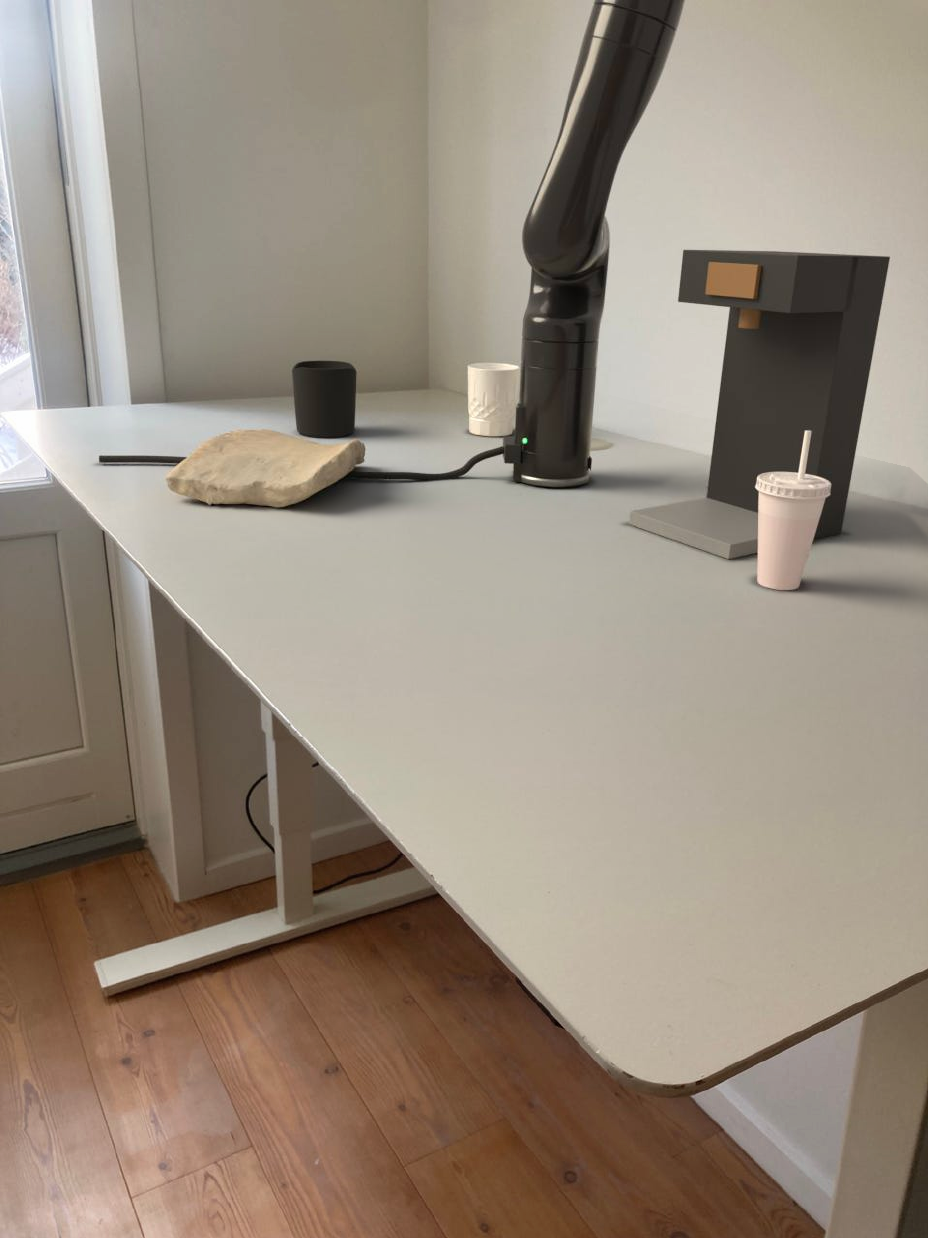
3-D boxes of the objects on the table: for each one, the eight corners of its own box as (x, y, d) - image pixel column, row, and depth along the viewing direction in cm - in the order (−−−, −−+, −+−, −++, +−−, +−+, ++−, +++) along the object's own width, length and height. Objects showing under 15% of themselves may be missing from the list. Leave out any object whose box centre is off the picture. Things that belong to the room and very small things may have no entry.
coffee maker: (728, 559, 97) (769, 254, 87) (628, 524, 107) (654, 248, 97) (841, 533, 107) (890, 256, 96) (739, 503, 117) (773, 251, 107)
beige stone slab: (389, 474, 129) (245, 448, 132) (394, 417, 126) (246, 392, 129) (327, 531, 107) (156, 500, 110) (331, 465, 104) (155, 434, 107)
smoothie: (819, 598, 87) (846, 440, 82) (744, 591, 88) (766, 434, 83) (810, 575, 93) (835, 426, 88) (740, 569, 94) (760, 421, 89)
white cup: (500, 439, 148) (503, 371, 144) (455, 433, 152) (457, 366, 148) (525, 431, 154) (529, 366, 151) (482, 425, 158) (484, 361, 154)
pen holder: (369, 431, 151) (369, 364, 147) (329, 441, 143) (328, 370, 140) (321, 424, 155) (320, 358, 152) (281, 433, 148) (278, 364, 144)
